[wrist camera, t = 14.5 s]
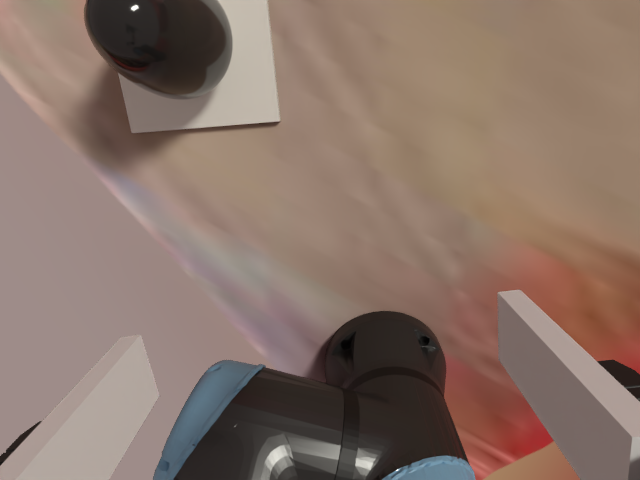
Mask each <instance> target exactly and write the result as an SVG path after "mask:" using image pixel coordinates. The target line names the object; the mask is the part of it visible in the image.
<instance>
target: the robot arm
mask: <svg viewBox="0 0 640 480" xmlns="http://www.w3.org/2000/svg"><path fill="white" fill-rule="evenodd" d="M498 347H499V361H500V362H501V363H502V365H503V366H504V368H505V369H506V371H507V372H508V374H509V375H510V377H511V378H512V380H513V381H514V383H515V384H516V386H517V387H518V388H519V390H520V391H521V393H522V394H523V396H524V397H525V399H526V400H527V402H528V403H529V405H530V406H531V408H532V409H533V411H534V412H535V413H536V415H537V416H538V418H539V419H540V421H541V422H542V424H543V425H544V427H545V428H546V430H547V431H548V433H549V434H550V435H551V437H552V438H553V440H554V441H555V443H556V444H557V445H558V447H559V449H560V450H561V452H562V453H563V455H564V456H565V458H566V459H567V460H568V462H569V463H570V465H571V466H572V468H573V469H574V471H575V472H576V474H577V475H578V477H579V478H580V480H640V375H639V374H638V373H637V372H636V371H635V370H633V369H631V368H629V367H627V366H625V365H623V364H621V363H619V362H617V361H615V360H606V361H596V360H595V359H593V358H592V357H591V356H590V355H589V354H588V353H587V352H586V351H585V350H584V349H583V348H582V347H581V346H580V345H579V344H577V343H576V342H575V341H574V340H573V339H572V338H571V337H570V336H569V335H568V334H567V333H566V332H565V331H564V330H562V329H561V328H560V327H559V326H558V325H557V324H556V323H555V322H554V321H553V320H552V319H551V318H550V317H549V316H548V315H546V314H545V313H544V312H543V311H542V310H541V309H540V308H539V307H538V306H537V305H536V304H535V303H534V302H533V301H531V300H530V299H529V298H528V297H527V296H526V295H525V294H524V293H523V292H522V291H521V290H513V291H504V292H498ZM325 377H326V382H327V383H323V382H319V381H315V380H311V379H308V378H304V377H300V376H296V375H292V374H288V373H284V372H281V371H277V370H273V369H269V368H266V366H265V365H262V364H259V365H252V364H247V363H242V362H237V361H232V360H223V361H220V362H217V363H215V364H214V365H212V366H211V367H210V368H209V369H208V370H207V371H206V372H205V373H204V375H203V376H202V377H201V379H200V380H199V381H198V383H197V384H196V386H195V387H194V389H193V391H192V392H191V394H190V396H189V398H188V399H187V401H186V403H185V405H184V407H183V408H182V410H181V412H180V414H179V416H178V418H177V420H176V422H175V424H174V426H173V428H172V431H171V433H170V435H169V437H168V440H167V442H166V444H165V446H164V449H163V451H162V457H161V459H160V461H159V464H158V466H157V468H156V470H155V474H154V477H153V480H475V475H474V471H473V470H472V468H471V466H470V465H469V462H468V460H467V457H466V454H465V452H464V449H463V446H462V444H461V441H460V439H459V436H458V433H457V431H456V428H455V425H454V423H453V420H452V418H451V415H450V412H449V410H448V407H447V404H446V402H445V399H444V390H445V379H446V362H445V357H444V354H443V351H442V349H441V346H440V344H439V342H438V340H437V338H436V336H435V335H434V333H433V332H432V331H431V330H430V329H429V328H428V327H427V326H426V325H425V324H424V323H422V322H421V321H419V320H418V319H416V318H414V317H411V316H409V315H406V314H403V313H398V312H391V311H379V312H372V313H368V314H364V315H361V316H359V317H357V318H354V319H353V320H351V321H349V322H348V323H346V324H345V325H344V326H342V327H341V328H340V329H339V330H338V331H337V332H336V334H335V335H334V336H333V338H332V339H331V341H330V343H329V345H328V348H327V351H326V357H325ZM159 396H160V395H159V391H158V388H157V385H156V382H155V379H154V376H153V372H152V369H151V366H150V363H149V360H148V357H147V353H146V350H145V347H144V344H143V341H142V338H141V335H134V336H126V337H121V338H120V339H119V340H118V341H117V342H116V343H115V344H114V345H113V346H112V347H111V348H110V350H108V352H107V353H106V354H105V355H104V356H103V357H102V358H101V359H100V360H99V361H98V362H97V363H96V364H95V365H94V367H93V368H92V369H91V370H90V371H89V372H88V373H87V374H86V375H85V376H84V377H83V378H82V379H81V381H79V382H78V384H77V385H76V386H75V387H74V388H73V389H72V390H71V391H70V392H69V393H68V394H67V395H66V396H65V397H64V399H62V401H61V402H60V403H59V404H58V405H57V406H56V407H55V408H54V409H53V410H52V411H51V412H50V414H48V415H47V417H46V418H45V419H44V420H43V421H40V422H38V423H37V424H35V425H34V426H33V427H31V428H30V429H29V430H27V431H26V432H24V433H23V434H22V435H20V436H19V437H18V439H16V441H15V442H14V443H13V444H12V445H11V446H10V447H9V448H8V449H7V450H6V453H3V454H2V455H1V456H0V480H109V479H110V477H111V476H112V474H113V472H114V471H115V469H116V467H117V466H118V464H119V462H120V461H121V459H122V457H123V456H124V454H125V453H126V451H127V449H128V448H129V446H130V444H131V443H132V441H133V439H134V438H135V436H136V434H137V433H138V431H139V429H140V428H141V426H142V424H143V423H144V421H145V420H146V418H147V416H148V415H149V413H150V411H151V410H152V408H153V406H154V405H155V403H156V401H157V400H158V398H159Z"/></svg>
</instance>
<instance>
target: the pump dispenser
mask: <svg viewBox="0 0 640 480" xmlns="http://www.w3.org/2000/svg"><path fill="white" fill-rule="evenodd" d="M84 21H85V26H86V29H87V32H88V35H89V37H90V39H91V41H92V43H93V45H94V47H95V48H96V50H97V51H98V53H99V54H100V55H101V56H102V58H103V59H104V60H105V61H106V62H107V63H108V64H109V65H110V66H111V67H112V68H113V69H114V70H116V71H117V72H118V73H119V74H121V75H122V76H123V77H125V78H126V79H127V80H129V81H130V82H132V83H133V84H135V85H137V86H138V87H140V88H142V89H144V90H146V91H148V92H151V93H153V94H156V95H158V96H161V97H165V98H169V99H177V100H186V99H193V98H197V97H200V96H202V95H204V94H206V93H208V92H210V91H211V90H212V89H214V88H215V87H216V86H217V85H218V84H219V83H220V81H221V80H222V79H223V77H224V75H225V74H226V72H227V70H228V67H229V64H230V61H231V57H232V50H233V39H232V31H231V27H230V23H229V20H228V17H227V15H226V13H225V11H224V9H223V7H222V6H221V4H220V3H219V1H218V0H86V4H85V7H84Z"/></svg>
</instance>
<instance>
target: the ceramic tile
mask: <svg viewBox="0 0 640 480" xmlns="http://www.w3.org/2000/svg"><path fill="white" fill-rule="evenodd" d="M218 1H219V3H220V4H221V6H222V7H223V9H224V11H225V13H226V15H227V17H228V20H229V23H230V27H231V31H232V39H233V50H232V57H231V61H230V64H229V67H228V70H227V72H226V74H225V75H224V77H223V79H222V80H221V81H220V83H219V84H218V85H217V86H216V87H215V88H214V89H212V90H211V91H210V92H208V93H206V94H204V95H202V96H200V97H197V98H193V99H186V100H177V99H169V98H165V97H161V96H158V95H156V94H153V93H151V92H148V91H146V90H144V89H142V88H140V87H138V86H137V85H135V84H133V83H132V82H130V81H129V80H127V79H126V78H125V77H123V76H122V75H121V74H119V73H118V75H119V80H120V84H121V88H122V93H123V97H124V102H125V106H126V110H127V115H128V119H129V124H130V128H131V132H132V133H142V132H154V131H166V130H179V129H191V128H203V127H216V126H228V125H240V124H253V123H265V122H277V121H281V118H280V109H279V99H278V90H277V81H276V71H275V62H274V53H273V43H272V34H271V25H270V15H269V6H268V0H218Z"/></svg>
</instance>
